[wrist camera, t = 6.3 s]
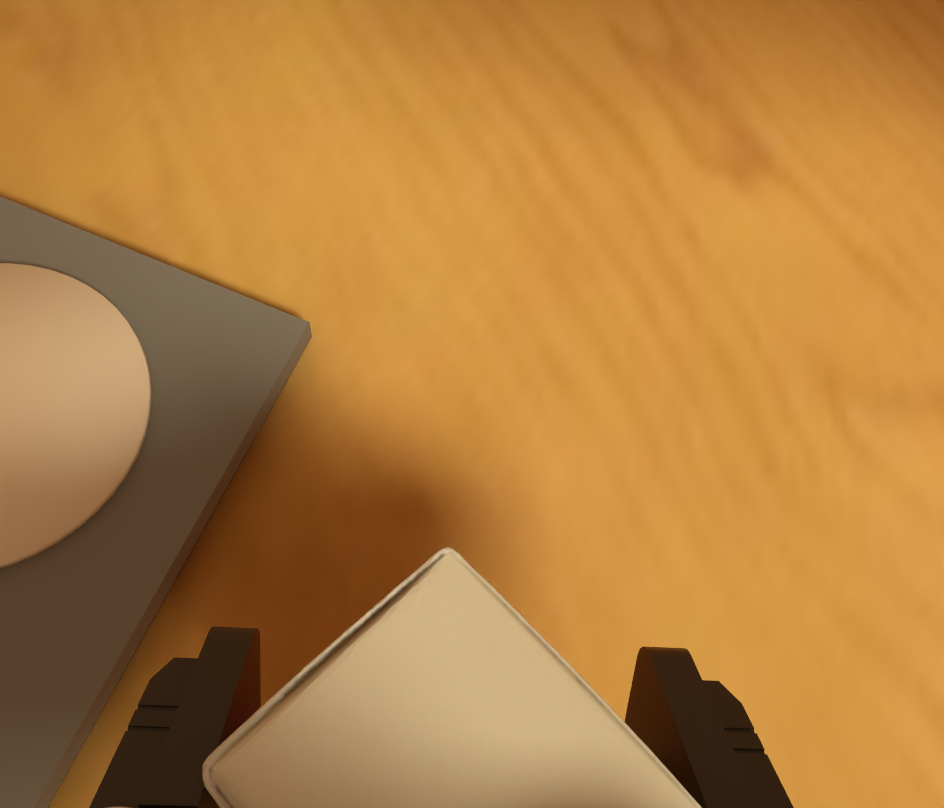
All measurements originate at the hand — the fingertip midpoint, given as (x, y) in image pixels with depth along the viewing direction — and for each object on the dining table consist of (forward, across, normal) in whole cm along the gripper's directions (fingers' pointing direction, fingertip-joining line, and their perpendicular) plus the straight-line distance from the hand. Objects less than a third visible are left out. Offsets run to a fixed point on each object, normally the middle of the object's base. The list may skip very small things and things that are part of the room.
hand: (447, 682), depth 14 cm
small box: (+2, 0, +4) cm, 5 cm away
